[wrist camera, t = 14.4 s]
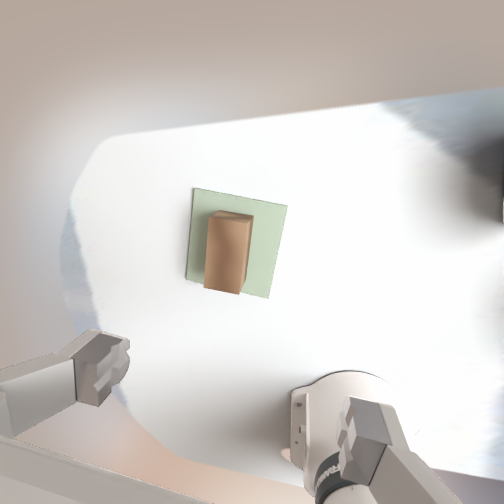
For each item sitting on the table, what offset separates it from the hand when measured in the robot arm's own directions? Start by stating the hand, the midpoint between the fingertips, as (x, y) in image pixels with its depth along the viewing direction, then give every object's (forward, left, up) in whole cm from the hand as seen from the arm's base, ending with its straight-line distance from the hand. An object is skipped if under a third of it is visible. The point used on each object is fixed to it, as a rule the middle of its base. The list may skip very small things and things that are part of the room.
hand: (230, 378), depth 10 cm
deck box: (-5, +6, -27) cm, 28 cm away
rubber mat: (-5, +6, -27) cm, 28 cm away
